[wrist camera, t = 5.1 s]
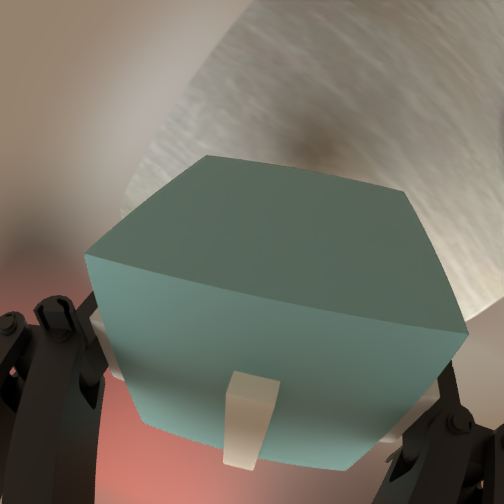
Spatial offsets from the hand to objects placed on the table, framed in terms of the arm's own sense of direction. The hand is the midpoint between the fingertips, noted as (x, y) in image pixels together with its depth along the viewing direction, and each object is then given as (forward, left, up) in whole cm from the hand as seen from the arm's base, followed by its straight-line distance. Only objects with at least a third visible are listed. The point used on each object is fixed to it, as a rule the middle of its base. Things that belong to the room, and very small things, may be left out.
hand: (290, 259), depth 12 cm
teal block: (0, 0, 0) cm, 0 cm away
